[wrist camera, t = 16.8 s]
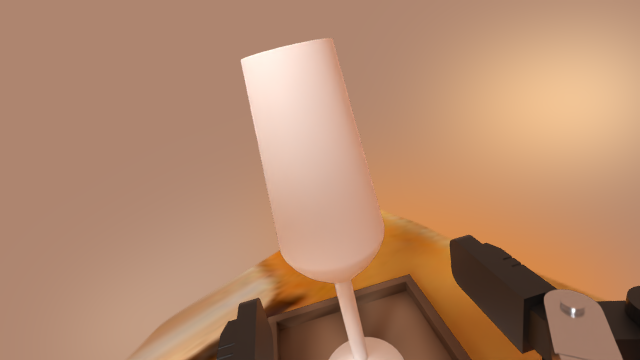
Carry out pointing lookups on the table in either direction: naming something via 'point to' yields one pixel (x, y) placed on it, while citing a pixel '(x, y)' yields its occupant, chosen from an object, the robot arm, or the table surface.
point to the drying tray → (368, 325)
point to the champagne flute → (317, 176)
